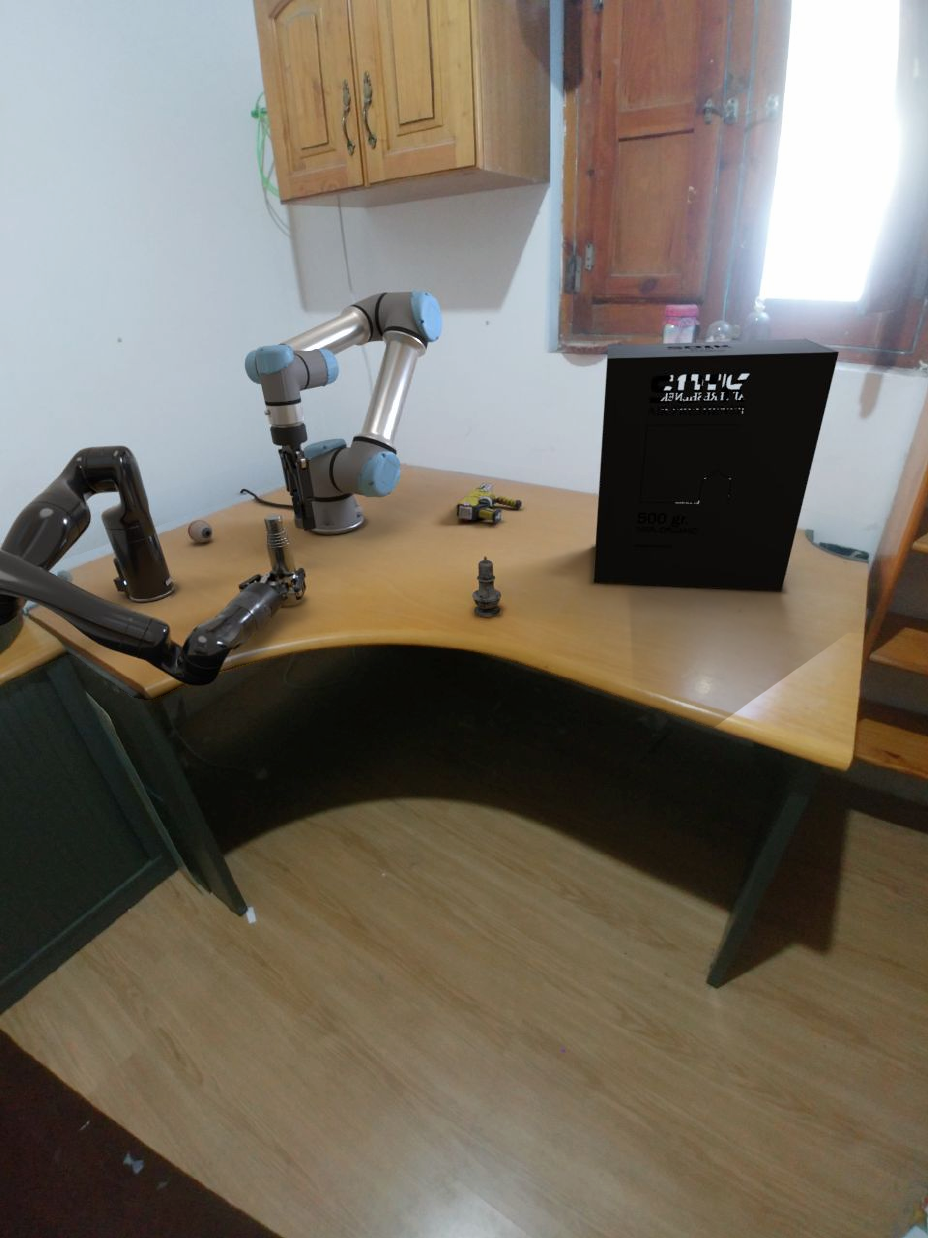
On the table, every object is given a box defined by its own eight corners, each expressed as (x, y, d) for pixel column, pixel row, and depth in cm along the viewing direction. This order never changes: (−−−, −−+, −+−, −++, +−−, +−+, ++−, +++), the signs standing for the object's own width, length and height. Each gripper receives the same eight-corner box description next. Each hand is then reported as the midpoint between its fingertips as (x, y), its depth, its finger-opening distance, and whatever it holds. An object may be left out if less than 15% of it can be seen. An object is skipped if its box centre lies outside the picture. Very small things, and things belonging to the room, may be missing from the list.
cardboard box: (760, 550, 140) (805, 338, 118) (781, 591, 123) (838, 351, 101) (595, 545, 148) (608, 345, 125) (593, 582, 131) (607, 358, 108)
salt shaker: (499, 618, 119) (498, 563, 113) (470, 616, 121) (467, 562, 115) (503, 604, 124) (502, 550, 118) (475, 602, 125) (473, 549, 119)
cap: (300, 522, 144) (298, 511, 142) (319, 522, 143) (317, 511, 142) (292, 529, 140) (290, 518, 138) (311, 529, 139) (309, 518, 138)
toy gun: (529, 487, 179) (482, 480, 183) (508, 512, 159) (455, 503, 163) (528, 503, 181) (481, 495, 185) (506, 528, 161) (454, 519, 165)
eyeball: (201, 547, 160) (195, 526, 157) (186, 543, 163) (180, 522, 160) (220, 539, 164) (214, 518, 161) (205, 536, 167) (199, 515, 164)
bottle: (302, 605, 129) (283, 519, 119) (279, 608, 128) (259, 522, 119) (302, 595, 133) (284, 511, 123) (280, 598, 132) (260, 514, 123)
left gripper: (223, 623, 119) (265, 585, 133) (289, 628, 116) (325, 588, 130) (213, 590, 115) (257, 553, 130) (281, 594, 112) (319, 556, 127)
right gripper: (258, 420, 135) (278, 519, 146) (283, 433, 122) (303, 541, 133) (290, 415, 138) (308, 512, 150) (318, 427, 125) (335, 533, 137)
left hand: (291, 571), depth 130 cm, fingers closed on bottle, 4 cm apart
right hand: (306, 525), depth 141 cm, fingers closed on cap, 5 cm apart
